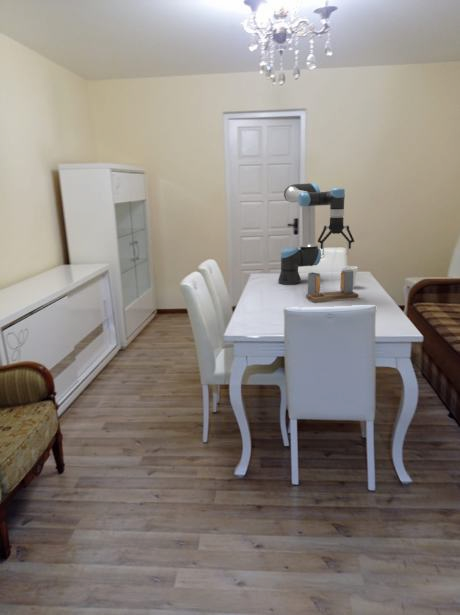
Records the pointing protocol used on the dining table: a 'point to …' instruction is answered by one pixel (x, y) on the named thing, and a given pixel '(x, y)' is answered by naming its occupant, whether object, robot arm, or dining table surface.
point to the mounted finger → (347, 282)
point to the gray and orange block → (313, 283)
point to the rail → (330, 296)
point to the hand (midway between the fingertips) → (335, 254)
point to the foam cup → (352, 268)
